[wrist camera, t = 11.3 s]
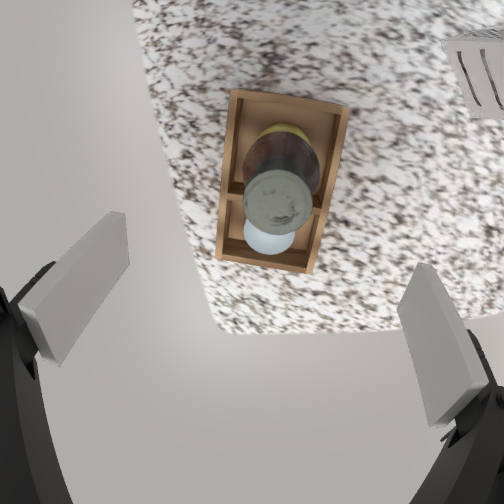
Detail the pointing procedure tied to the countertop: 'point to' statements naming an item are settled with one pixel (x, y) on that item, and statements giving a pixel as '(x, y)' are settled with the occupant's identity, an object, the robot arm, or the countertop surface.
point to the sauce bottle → (280, 179)
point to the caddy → (232, 187)
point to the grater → (479, 70)
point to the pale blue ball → (266, 240)
